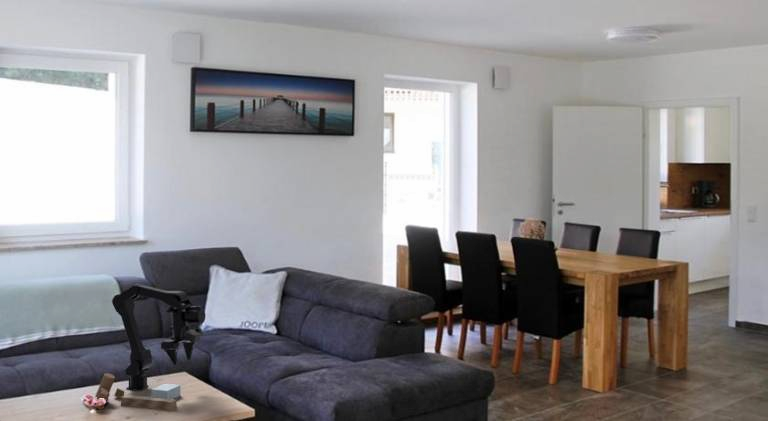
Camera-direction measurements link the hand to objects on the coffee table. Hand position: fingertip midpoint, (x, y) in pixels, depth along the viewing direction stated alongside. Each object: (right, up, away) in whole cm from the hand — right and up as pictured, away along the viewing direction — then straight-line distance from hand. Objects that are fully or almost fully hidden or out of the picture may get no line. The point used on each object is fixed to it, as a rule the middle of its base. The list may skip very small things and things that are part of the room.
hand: (182, 362), depth 317 cm
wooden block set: (-25, -13, -15) cm, 32 cm away
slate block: (-4, -13, -8) cm, 15 cm away
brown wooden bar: (-8, -13, -19) cm, 25 cm away
